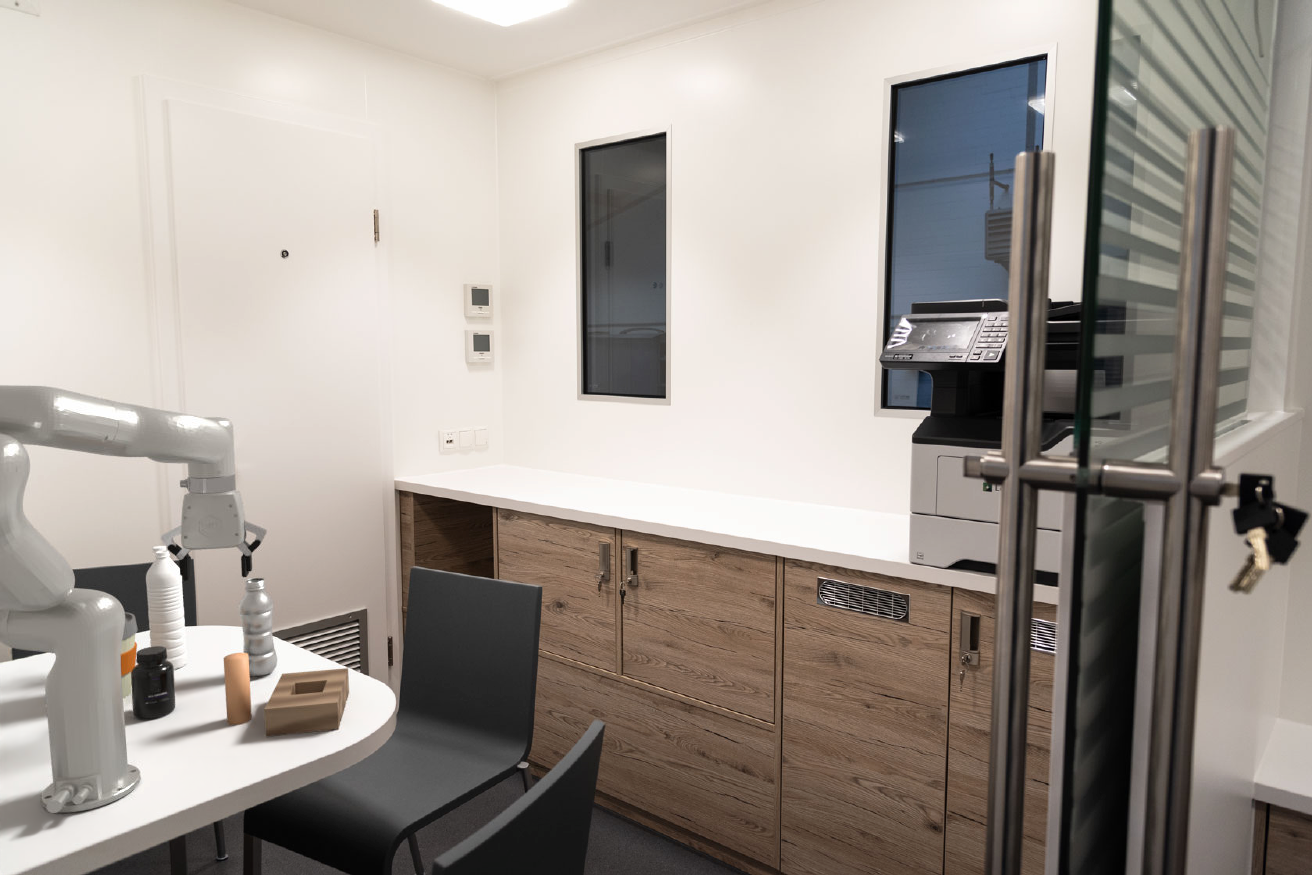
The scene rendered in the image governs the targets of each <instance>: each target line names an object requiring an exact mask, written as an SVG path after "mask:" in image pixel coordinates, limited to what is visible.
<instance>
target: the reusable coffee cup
mask: <svg viewBox="0 0 1312 875" xmlns="http://www.w3.org/2000/svg"><path fill="white" fill-rule="evenodd" d="M124 612H125V611H124ZM136 633H138V625H137V620H136V616H135V614H134V613H130V612H125V626H124V632H123V638H122V645H121V680H122V692H123V698H124V699H126V698H127V697H129V696H130V695H131V694H132V686H131V671H132V670H133V668H134V667H135V666H136V665H137V663H136V659H137V655H136V654H137V652H138V651H137V650H138V649H137V648H138V647H137V646H138V644H137V642H136ZM129 694H130V695H129ZM126 696H127V697H126ZM125 697H126V698H125Z"/></svg>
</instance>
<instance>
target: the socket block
mask: <svg viewBox="0 0 1312 875" xmlns="http://www.w3.org/2000/svg"><path fill="white" fill-rule="evenodd" d="M349 676H350V675H349V668H348V667H346V668H335V669H334V668H333V669H332V668H331V669H323V670H311V671H299V672H289V673H288V672H287V673H281V676H280V678H279V680H278V681H277V684H276V686H275V687H274V689H273V690H272V694H271V695H270V698H269V699H268V701H267V703H266V705H265V707H264V709H263V710H264V726H265V727H264V729H265V737H274V736H285V735H293V734H294V735H295V734H303V733H314V731H316V732H324V731H333V730H332V729H336V730H339V729H340V726H341V723H342V720H343V719H342V718H343V715H344V711H345V709H346V704H347V702H346V701H348V698H349V695H350V682H349ZM344 708H345V709H344ZM340 722H341V723H340Z"/></svg>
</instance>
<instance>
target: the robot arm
mask: <svg viewBox="0 0 1312 875" xmlns="http://www.w3.org/2000/svg"><path fill="white" fill-rule="evenodd" d="M234 435H235V434H234V424H233V422H232V421H231V419H229V418H226V417H216V416H215V417H213V416H212V417H211V416H210V417H201V416H198V415H192V414H187V413H183V412H182V413H181V412H177V411H171V410H163V409H158V408H153V407H148V406H142V405H138V404H132V403H125V402H120V401H115V400H110V399H106V398H102V397H101V398H100V397H96V396H92V395H87V394H85V393H84V394H83V393H80V392H76V391H72V390H71V391H70V390H67V389H62V388H59V387H52V386H46V385H7V384H5V385H0V643H1V644H3V645H5V646H6V647H9V648H11V649H16V650H23V651H31V652H32V651H33V652H41V653H42V652H44V653H50V654H55V660H54V663H53V665H52V667H51V669H50V671H49V672H48V675H47V678H46V679H45V680H46V681H45V687H44V691H45V702H46V703H45V704H46V705H45V706H46V715H47V717H46V718H47V725H48V740H49V752H50V760H51V761H50V764H51V776H52V783H50V784H49V785H48V786H46V788H45V789H44V790H43V792H42V793H41V796H40V797H41V799H40V800H41V806H42V807H43V808H44V809H45V810H47V811H48V813H50V814H56V813H76V812H77V813H78V812H83V811H88V810H92V809H96V808H100V807H102V806H105V805H108V804H111V803H113V802H115V801H118V800H120V799H121V798H123V797H125V796H127V795H128V794H129V793H131V792H133V790H135V789H136V788H137V786H139V784H140V781H141V780H142V779H141V778H142V777H141V771H140V769H139V768H138V767H137V766H135V765H133V764H129V763H128V750H127V736H126V735H127V734H126V724H125V723H126V722H125V707H124V706H125V705H124V699H123V692H122V680H121V645H122V638H123V632H124V626H125V609H124V607H123V605H122V603H121V602H120V600H119V599H117V598H116V596H113V595H112V594H110V593H107V592H105V591H102V590H97V589H91V588H90V589H89V588H77V587H75V584H76V583H75V582H76V577H75V573H74V570H73V568H72V566H71V565H70V563H69V562H68V560H66V558H65V557H64V556H63V555H62V554H61V553H60V552H59V551H58V550H57V548H55V547H54V546H53V545H52V544H51V543H50V541H48V540H47V539H46V538H45V537H44V535H42V534H41V533H40V532H39V531H38V529H36V528H35V526H34V525H33V524H32V522H30V520H29V519H28V518H27V516H26V514H25V511H24V495H25V491H26V486H27V483H28V480H29V475H30V473H31V462H30V457H29V453H28V451H27V450H26V447H25V446H24V445H30V446H31V445H32V446H40V447H48V448H55V449H61V450H68V451H74V452H75V451H76V452H79V453H80V452H82V453H87V454H94V455H100V456H108V457H118V458H119V457H121V458H147V459H149V460H152V461H153V462H158V463H163V464H187V470H188V471H187V472H188V473H187V474H188V476H187V478H185V479H181V480H180V481H179V486H180V488H185V489H187V492H188V493H186V494H184V495H183V499H182V500H183V501H182V506H181V507H182V508H181V522H180V523H181V524H180V525H179V526H177V527H175V528H173V529H171V530H169V531H167V532H165V533H164V534H162V535H161V536H160V540H161V541H162V542H163V544H164V546H166V550H167V551H169V553H171V554H172V555H174V556H175V557H176V559H177V560H178V561H179V563H178V564H179V566H178V567H179V568H180V576H182V582H188V581H189V580H190V579H191V578H192V576H193V573H192V571H193V570H192V556H191V555H190V554H189V553H190V552H191V551H195V550H197V551H201V550H216V549H231V548H236V549H238V550H239V551H240V552H241V553H242V555H241V557H240V565H241V566H240V569H241V577H243V578H247V577H248V575H249V574H250V572H252V571H253V558H252V557H253V556H252V555H253V554H252V553H253V552H254V551H256V550H257V549H258V548H259V546H260V545H261V544H262V543H263V540H264V539H265V537H266V534H267V533H268V530H267V529H265V528H263V527H261V526H258V525H256V524H253V523H252V522H249V521H247V520H246V515H245V509H244V508H245V507H244V503H243V498H242V495H241V492H240V490H237V487H236V486H237V485H236V464H235V462H236V460H235V458H236V457H235V442H234V441H235V439H234V438H235V437H234ZM247 532H249V533H252V534H254V535H255V539H254V541H252V543H251V544H250V543H249V542H248V541H247V540H246V539H247ZM179 535H180V541H181V546H182V547H181V546H180V545H178V544H177V543H176V542H175V540H174V538H175V537H176V536H179Z"/></svg>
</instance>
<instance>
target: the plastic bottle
mask: <svg viewBox="0 0 1312 875" xmlns="http://www.w3.org/2000/svg"><path fill="white" fill-rule="evenodd" d="M244 586H245V587H244V591H245V592H246V593H245V594H244V596H243V597H242V598H241V600H240V601H239V604H238V613H239V617H240V622H241V627H242V633H243V635H242V636H243V652H242V653H247V654H248V658H249V676H250V677H262V676H265V675H269V674H271V673H272V672H274V671H275V669H276V667H277V664H278V657H277V653H276V649H275V644H274V639H273V637H274V636H273V615H274V600H273V598H272V597H271V596H270V594H269V593H267V592H266V590H265V589H266V587H267V586H266V579H265V578H263V577H253V578H248V579H246V580H245V582H244Z"/></svg>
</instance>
